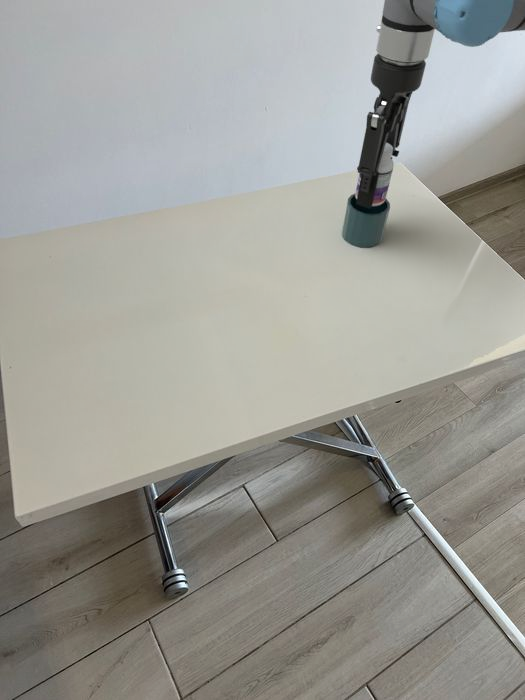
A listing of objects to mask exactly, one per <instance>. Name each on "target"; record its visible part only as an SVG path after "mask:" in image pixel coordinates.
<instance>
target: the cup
mask: <svg viewBox="0 0 525 700" xmlns="http://www.w3.org/2000/svg"><path fill="white" fill-rule="evenodd" d="M355 194H356V192H354V193H353V194H352V193H351V195H350V196H349V197H348V198H347V200H346V201H347V202H346V207H345V212H344V217H343V219H344V220H343V224H342V230H341V236H342V238H343V240H344V241H345V242H347V243H348V244H350V245H351V246H354V247H357V248H364V249H365V248H366V249H367V248H373V247H376V246H378V245H379V244H380V243H381V242H382V240H383V238H384V234H385V230H386V227H387V226H386V225H387V222H388V218H389V215H390V210H391V203H390V202H389V200H388V199H387V198H386V199H385V201H384V203H382V204H381V205H378V206H372V207H371V208H370V209H369V208H366V207H363V206H360V205H357V204H356V201H357V199H356V196H355Z"/></svg>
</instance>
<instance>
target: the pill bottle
mask: <svg viewBox="0 0 525 700" xmlns="http://www.w3.org/2000/svg"><path fill="white" fill-rule="evenodd" d="M392 152H393V147H392V145H390V144H389V143H386V144H385V148H384V151H383V155H382V158H381V161H380V165H379V168H378V172H379V177H378V181H377V186H376V190H375V195H374V199H373V204H372V206H378V205H381V204H382V203H384V201H385V199H387V194H388V191H389V187H390V182H391V179H392V175H393V171H394V165H395V164H394V161H393V158H392V159H391V157H393V156H392ZM361 175H362V174H361V173H359V174H358V179H357V184H356V188H355V193H356V194H355V193H354V194H355V196H356V199H357V196H358V191H359V185H360V180H361Z"/></svg>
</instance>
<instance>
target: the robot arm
mask: <svg viewBox="0 0 525 700" xmlns="http://www.w3.org/2000/svg"><path fill="white" fill-rule="evenodd" d="M435 30H436V31H437V32H439V33H440V34H441V35H442V36H444V37H445V38H446V39H448V40H450V41H451V42H454V43H457V44H460V45H462V46H465V47H469V48H474V47H480V46H483V45H484V44H485V43H487V42H488V41H490V40H492V39H494V38H495V37H497V36H498V35H499V34H500V33H501V34H502V33H509V32H516V31H517V32H520V31H525V0H384V2H383V8H382V16H381V22H380V24H378V25H377V26H376V30H375V31H376V33H378V38H377V43H376V53H377V54H376V55H375V56H374V58H373V63H372V68H371V74H370V82H371V84H372V85H373V86H374V87H376V89H377V90H378V91H379V94H378V96H377V97H376V98H375V101H374V104H373V111H369V112H368V113H367V115H366V126H365V132H364V136H363V142H362V147H361V152H360V159H359V161H358V166H357V167H356V170H357V173H361V174H362V175H361V180H360V185H359V191H358V196H357V201H356V204H357V205H360V206H363V207H366V208H369V209H370V208H371V207H372V204H373V199H374V195H375V190H376V186H377V181H378V177H379V172H378V168H379V165H380V161H381V158H382V155H383V151H384V148H385V144H386V143H389V144H390V145H392V147H393V152H392V156H391V159H392V160H393V157H395V158H397V157H398V156H399V154H400V150H397V149H398V148H399V146H400V144H401V143H400V142H401V137H402V134H403V129H404V126H405V120H406V117H407V112H408V108H409V103H410V100H411V97H412V94H413V92H415V91H417V90H419V88H420V87H421V85H422V81H423V77H424V73H425V70H426V66H427V65H426V64H427V63H426V59H427V58H428V57H429V55H430V51H431V47H432V42H433V38H434V33H435Z"/></svg>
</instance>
